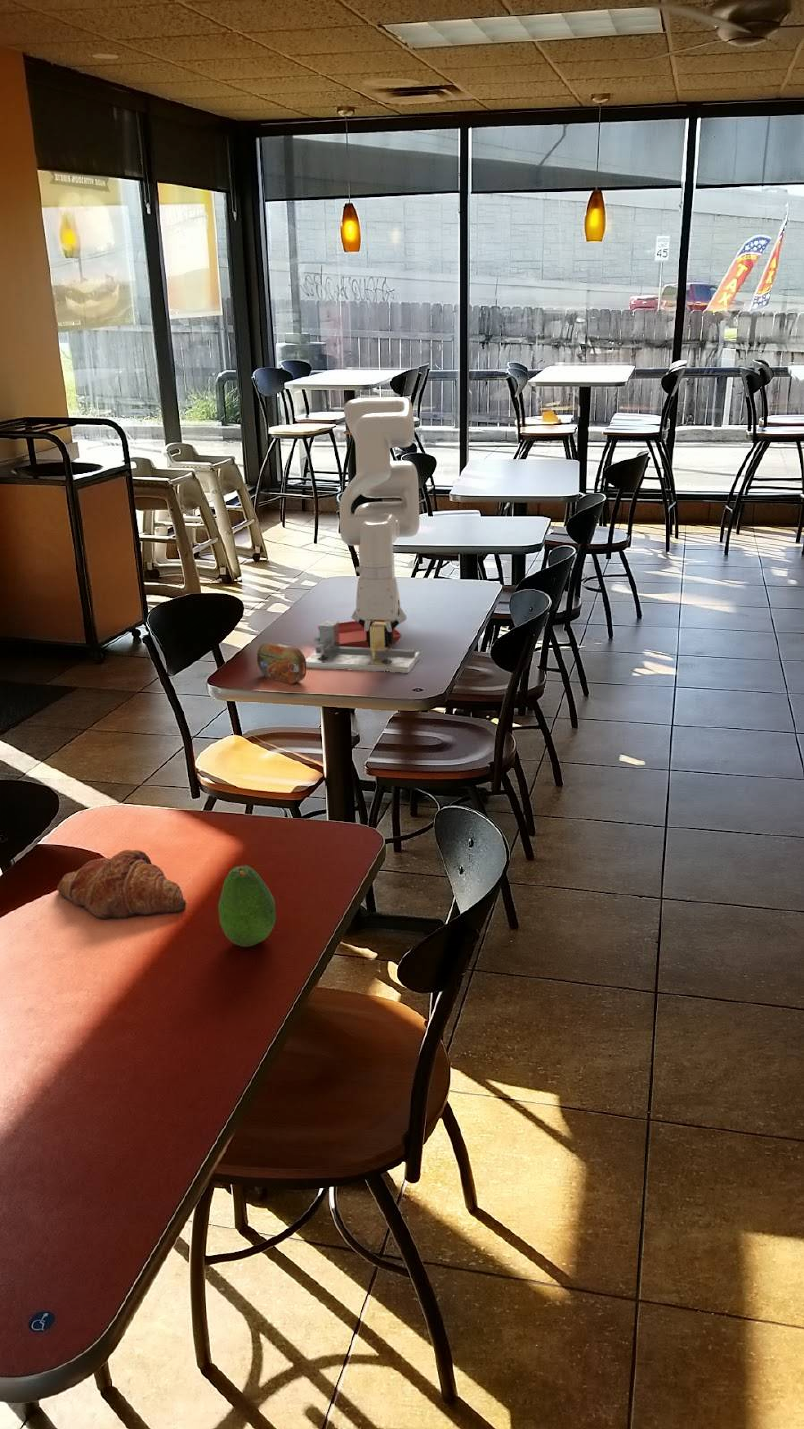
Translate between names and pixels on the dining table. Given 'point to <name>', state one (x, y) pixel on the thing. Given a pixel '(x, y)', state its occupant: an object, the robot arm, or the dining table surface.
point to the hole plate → (357, 654)
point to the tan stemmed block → (377, 637)
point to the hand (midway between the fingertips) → (380, 645)
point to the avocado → (246, 907)
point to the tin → (281, 662)
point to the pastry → (122, 887)
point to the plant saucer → (358, 634)
